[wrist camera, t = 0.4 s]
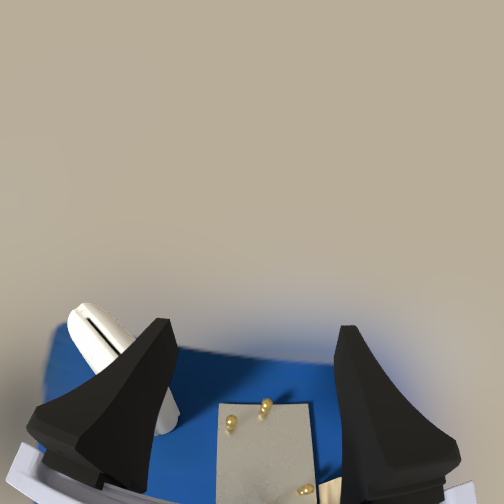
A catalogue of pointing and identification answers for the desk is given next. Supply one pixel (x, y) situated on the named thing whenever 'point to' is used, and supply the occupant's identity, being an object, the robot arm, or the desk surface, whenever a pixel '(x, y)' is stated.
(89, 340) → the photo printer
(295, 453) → the plate
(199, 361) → the desk surface
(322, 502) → the board
